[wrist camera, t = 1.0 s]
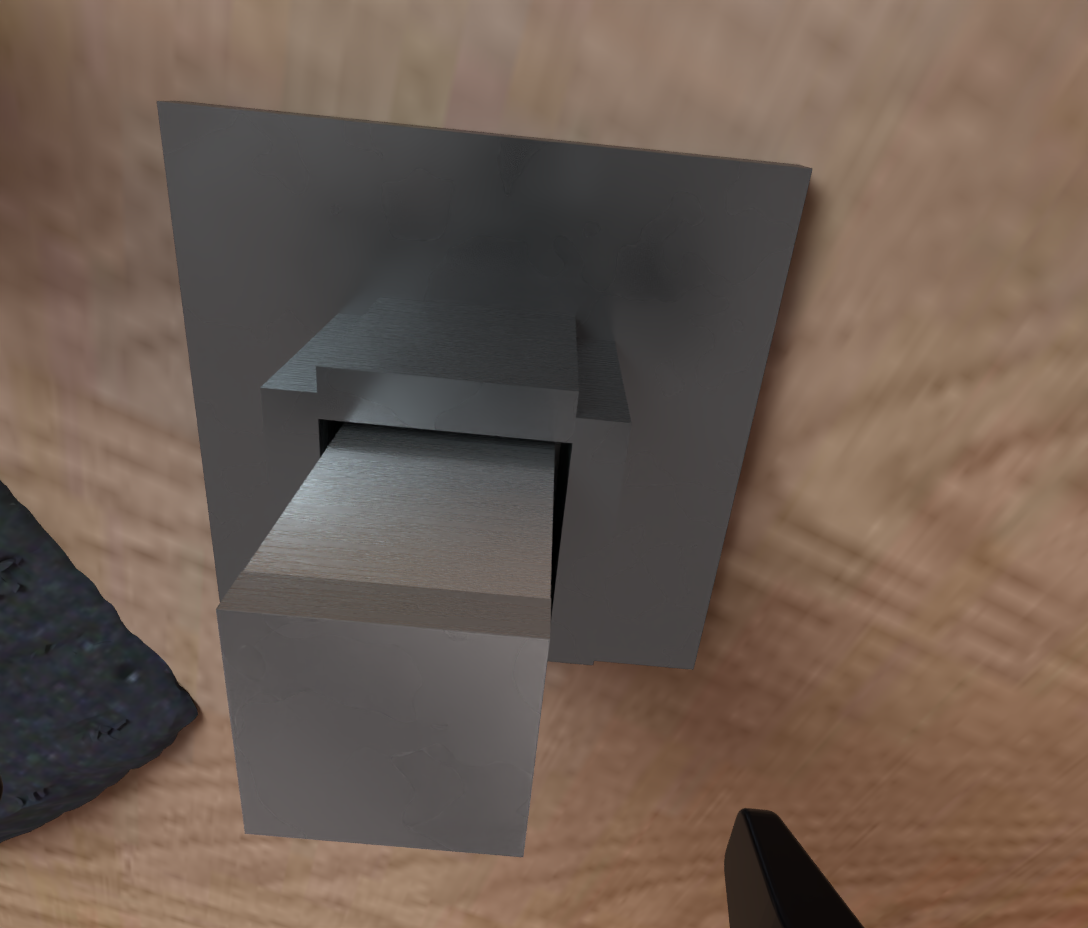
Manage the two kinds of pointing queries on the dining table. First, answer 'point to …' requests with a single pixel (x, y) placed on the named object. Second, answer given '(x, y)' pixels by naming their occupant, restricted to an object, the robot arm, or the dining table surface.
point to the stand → (487, 333)
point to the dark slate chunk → (69, 683)
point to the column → (396, 644)
